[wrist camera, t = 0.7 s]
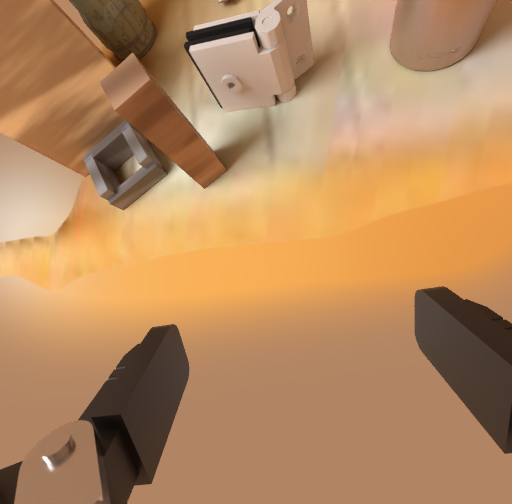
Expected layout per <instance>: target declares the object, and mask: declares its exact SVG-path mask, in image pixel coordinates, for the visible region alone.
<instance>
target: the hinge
mask: <svg viewBox="0 0 512 504" xmlns="http://www.w3.org/2000/svg"><path fill="white" fill-rule="evenodd" d="M290 6H293V9H292V12H291V13H290V14H289V15H287V10H288V8H289V7H290ZM186 38H187V40H188V41H189V42H185V44H184V48H185V49H186V51H187V53H188V54H189V56H190V58H191V59H192V61H193V63H194V64H195V66H196V68H197V69H198V71H199V72H200V74H201V76H202V77H203V79H204V81H205V82H206V84H207V86H208V87H209V89H210V91H211V92H212V94H213V96H214V97H215V99H216V100H217V102H218V104H219V105H220V107H221V108H223V109H224V111H225V112H231V111H238V110H246V109H253V108H261V107H269V106H275V105H276V99H275V96H274V95H276V96H277V99H278V100H279V101H281V102H288V101H291V100H292V99H293V98H294V97H295V96H296V91H297V89H296V85H295V79H297V78H298V77H299V76H300V75H302V74H303V73H304V72H306V71H307V70H308V69H309V68H311V67H312V66H313V65H314V58H313V50H312V42H311V34H310V25H309V17H308V9H307V1H306V0H274V1H273V2H271V3H270V4H269V5H268V6H267V7H266V8H264V9H263V10H262V11H261V12H260V10H257V11H253V12H249V13H245V14H241V15H236V16H232V17H228V18H224V19H220V20H216V21H212V22H208V23H204V24H200V25H196V26H194V30H193V31H190V32H187V33H186ZM300 56H301V59H300V60H299V61H298V62H296V61H297V59H298V57H300Z"/></svg>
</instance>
